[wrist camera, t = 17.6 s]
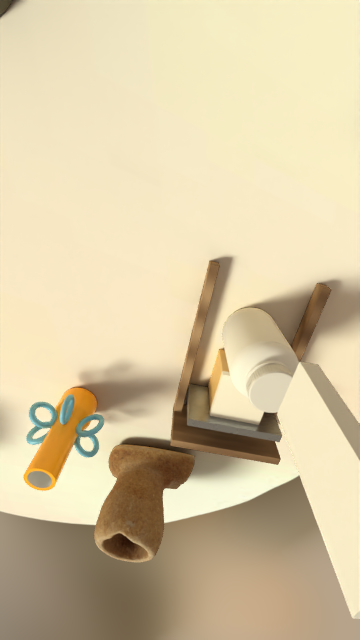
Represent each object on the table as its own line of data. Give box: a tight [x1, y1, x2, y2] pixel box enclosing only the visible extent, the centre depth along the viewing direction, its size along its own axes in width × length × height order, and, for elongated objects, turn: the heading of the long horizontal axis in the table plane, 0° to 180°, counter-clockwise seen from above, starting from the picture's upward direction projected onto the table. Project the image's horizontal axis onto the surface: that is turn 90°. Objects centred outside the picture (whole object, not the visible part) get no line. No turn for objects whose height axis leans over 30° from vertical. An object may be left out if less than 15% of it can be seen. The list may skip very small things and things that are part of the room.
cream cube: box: [208, 349, 264, 425], centre depth 44 cm, size 7×7×7 cm
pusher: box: [187, 384, 282, 442], centre depth 45 cm, size 1×13×8 cm, turn 78°
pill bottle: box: [222, 308, 299, 413], centre depth 38 cm, size 8×8×15 cm
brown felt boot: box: [94, 444, 195, 562], centre depth 50 cm, size 15×12×15 cm
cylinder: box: [24, 388, 104, 490], centre depth 44 cm, size 12×10×15 cm
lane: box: [170, 261, 331, 465], centre depth 42 cm, size 26×16×8 cm, turn 169°
